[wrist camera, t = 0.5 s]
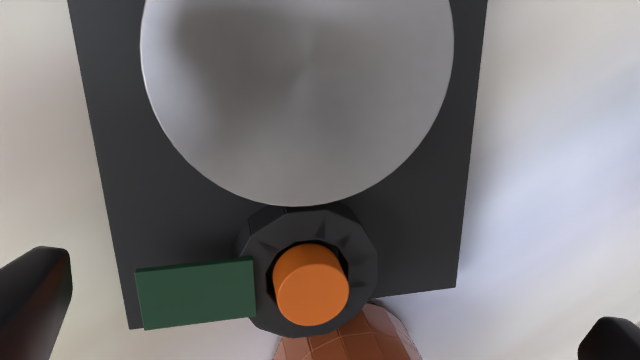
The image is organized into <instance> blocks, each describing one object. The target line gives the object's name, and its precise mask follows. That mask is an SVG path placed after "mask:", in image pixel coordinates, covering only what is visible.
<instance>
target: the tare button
mask: <svg viewBox="0 0 640 360" xmlns="http://www.w3.org/2000/svg"><path fill="white" fill-rule="evenodd" d="M273 284H274V289H275V294H276V299H277V304H278V307H279V309H280V311H281V313H282V314H283V315H284V316H285V317H286V318H287V319H288V320H289V321H291V322H293V323H295V324H298V325H303V326H315V325H319V324H323V323H325V322H328V321H329V320H331V319H333V318H334V317H335V316H337V315H338V314H339V313H340V312H341V311H342V309H343V308H344V306H345V304H346V302H347V300H348V296H349V285H348V281H347V279H346V277H345V274H344V272H343V270H342V268H341V266H340V263H339V261H338V259H337V257H336V256H335V254H334V253H333V252H332V251H331V250H330V249H328V248H326V247H324V246H322V245H319V244H313V243H306V244H300V245H297V246H295V247H292V248H290V249H289V250H287V251H286V252H285V253H284V254H282V256H281V257H280V258H279V259H278V261H277V262H276V264H275V267H274V270H273Z"/></svg>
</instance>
